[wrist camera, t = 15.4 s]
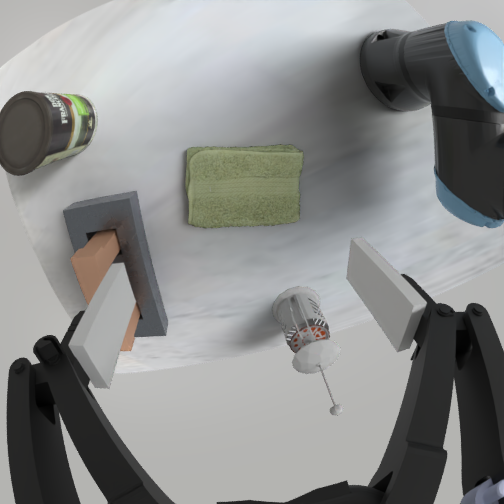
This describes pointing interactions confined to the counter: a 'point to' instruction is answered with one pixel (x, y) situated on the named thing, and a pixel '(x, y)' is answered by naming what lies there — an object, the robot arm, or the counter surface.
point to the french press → (307, 333)
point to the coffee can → (44, 129)
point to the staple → (101, 273)
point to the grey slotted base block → (123, 251)
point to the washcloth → (243, 185)
